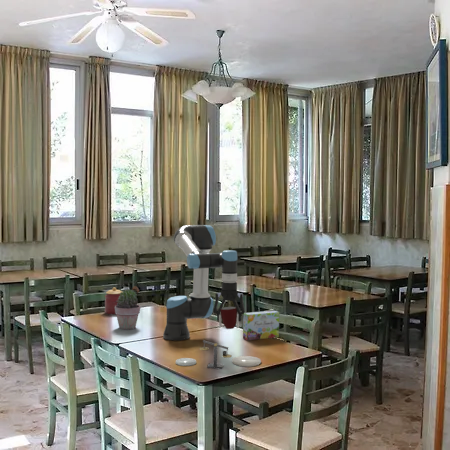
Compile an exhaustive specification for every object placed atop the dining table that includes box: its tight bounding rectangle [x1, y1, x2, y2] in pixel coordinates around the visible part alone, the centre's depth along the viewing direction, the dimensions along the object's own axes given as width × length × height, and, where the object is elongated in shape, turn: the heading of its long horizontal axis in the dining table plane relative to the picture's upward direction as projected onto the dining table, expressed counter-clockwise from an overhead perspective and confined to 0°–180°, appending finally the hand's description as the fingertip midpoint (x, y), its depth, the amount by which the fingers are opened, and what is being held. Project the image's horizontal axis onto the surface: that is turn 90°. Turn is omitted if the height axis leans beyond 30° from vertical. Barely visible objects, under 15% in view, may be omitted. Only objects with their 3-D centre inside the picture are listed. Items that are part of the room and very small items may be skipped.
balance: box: [199, 339, 232, 370], centre depth 273 cm, size 15×5×12 cm, turn 83°
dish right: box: [231, 355, 262, 368], centre depth 281 cm, size 14×14×1 cm
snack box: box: [242, 310, 280, 341], centre depth 331 cm, size 21×6×15 cm, turn 117°
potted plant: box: [114, 285, 143, 330], centre depth 351 cm, size 18×20×25 cm
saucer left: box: [175, 357, 197, 367], centre depth 279 cm, size 10×10×1 cm
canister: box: [104, 287, 123, 315], centre depth 397 cm, size 13×13×18 cm
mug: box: [220, 306, 238, 330], centre depth 285 cm, size 11×8×10 cm
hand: (229, 327), depth 285 cm, fingers closed on mug, 8 cm apart
